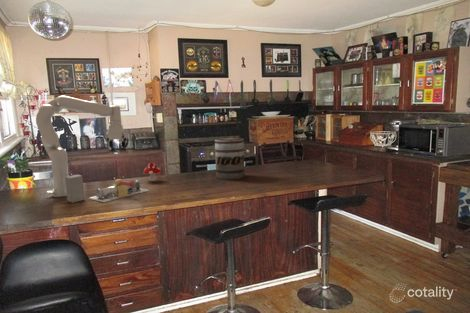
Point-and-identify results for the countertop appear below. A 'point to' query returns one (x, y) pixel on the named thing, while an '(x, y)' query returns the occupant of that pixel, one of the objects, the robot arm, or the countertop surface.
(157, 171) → the decorative mushroom
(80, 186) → the skincare box
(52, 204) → the countertop surface
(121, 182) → the lever
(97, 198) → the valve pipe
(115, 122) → the robot arm
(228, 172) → the barrel
